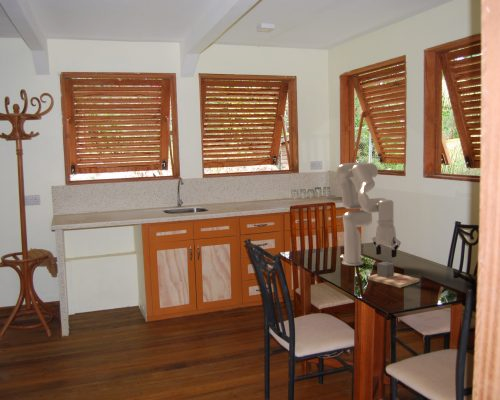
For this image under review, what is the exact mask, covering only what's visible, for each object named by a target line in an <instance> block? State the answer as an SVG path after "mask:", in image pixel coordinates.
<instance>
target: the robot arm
mask: <svg viewBox="0 0 500 400" xmlns="http://www.w3.org/2000/svg"><path fill="white" fill-rule="evenodd" d="M378 174H379V170H378V167H377V165H376V164H375V163H373V162H344V163H342V164H339V166H338V167H337V169H336V178H337V181H338V184H339V186H340V192H341V198H342V199H341V200H342V205H343V207H344V209H348V210H349V211H346V212H345V213H343V215H342V223H343V231H344V232H343V233H344V237H343V238H344V241H343V243H344V249H343V250H344V254H341V255H340V256H339V257H340V258H341V259H342V260H341V264H342V265H344V266H350V267H351V266H352V267H353V266H354V267H356V266H357V267H359V266H362V265H364V261H363V260H361V259H362V258H361V257H362V256H361V255H362V252H361V251H362V250H361V249H362V248H361V245H362V243H361V242H362V240H361V239H362V233H361V232H360V231H359V229H358V228H359V227H360V228H361V227H367V226H368V227H369V226H370V225H371V224H372V222H373V214H372V213H378V219H377V221H376V222H377V224H378V225H377V226H376V231H375V236H374V237H372V238H371V239H372V243H373V245H374V246H375V248H376V249H375V252H376V255H377V256H378V255H382V247H381V246H386V247H390V248H391V258H396V257H397V254H398V253H397V250H398V248H400V245H401V244H402V243H401V241H400V240H399V239H398V238H397V232H396V227H395V226H394V224H395V223H394V222H395V221H394V201H393V200H392V199H386V198H384V197H380V198H379V197H377V198H370V197H369V195H368V194H367V193H368V192H370V191H371V190H373V189H374V188H375V185H376V182H375V180H374V178H376V177H377V176H378ZM352 178H354V179H355V181H356V182H357V185H358V186H359V190H358V192H357V190H356V184H355V182H354V181H353V180H352ZM355 209H356V210H355ZM357 209H359V210H357ZM350 210H351V211H350Z"/></svg>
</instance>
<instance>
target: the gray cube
mask: <svg viewBox="0 0 500 400" xmlns="http://www.w3.org/2000/svg"><path fill="white" fill-rule="evenodd" d="M376 267H377V269H376V274H377V276H381V277H385V278H388V277H391V276H394V273H395V264H394V263H392V262H387V261H381V262H377V263H376Z"/></svg>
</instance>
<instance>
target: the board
mask: <svg viewBox="0 0 500 400" xmlns="http://www.w3.org/2000/svg"><path fill="white" fill-rule="evenodd" d="M367 280H369V281H373V282H377V283H380V284H384V285H388V286H389V285H390V286H392V287H396V288H400V289H401V288H404V287H407V286H410V285H413V284H415V283H419V282H420V278H418V277H415V276H414V277H413V276H409V275H405V274H401V273H397V272H394V276H391V277H388V278H385V277H381V276H377V273H375V274H372V275H368V276H367Z"/></svg>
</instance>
